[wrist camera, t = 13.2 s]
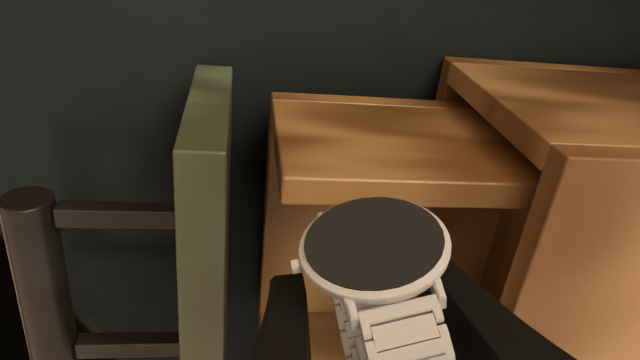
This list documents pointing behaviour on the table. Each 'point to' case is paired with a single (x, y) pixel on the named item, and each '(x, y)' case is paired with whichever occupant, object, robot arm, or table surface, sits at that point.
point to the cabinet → (569, 195)
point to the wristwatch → (381, 277)
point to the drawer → (277, 210)
